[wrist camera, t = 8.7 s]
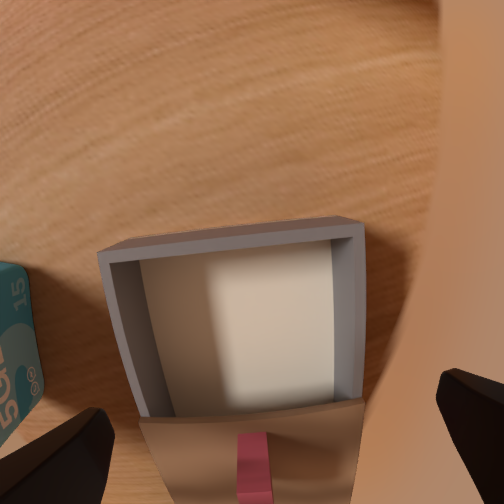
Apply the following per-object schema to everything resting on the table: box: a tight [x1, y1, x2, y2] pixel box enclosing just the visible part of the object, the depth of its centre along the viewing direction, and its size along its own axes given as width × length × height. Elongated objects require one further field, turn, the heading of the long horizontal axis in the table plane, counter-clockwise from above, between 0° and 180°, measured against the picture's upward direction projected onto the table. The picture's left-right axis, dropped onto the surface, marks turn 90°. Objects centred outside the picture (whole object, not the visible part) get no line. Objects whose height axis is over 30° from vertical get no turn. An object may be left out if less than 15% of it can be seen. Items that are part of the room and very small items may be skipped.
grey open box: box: [97, 215, 366, 417], centre depth 18 cm, size 16×13×5 cm
